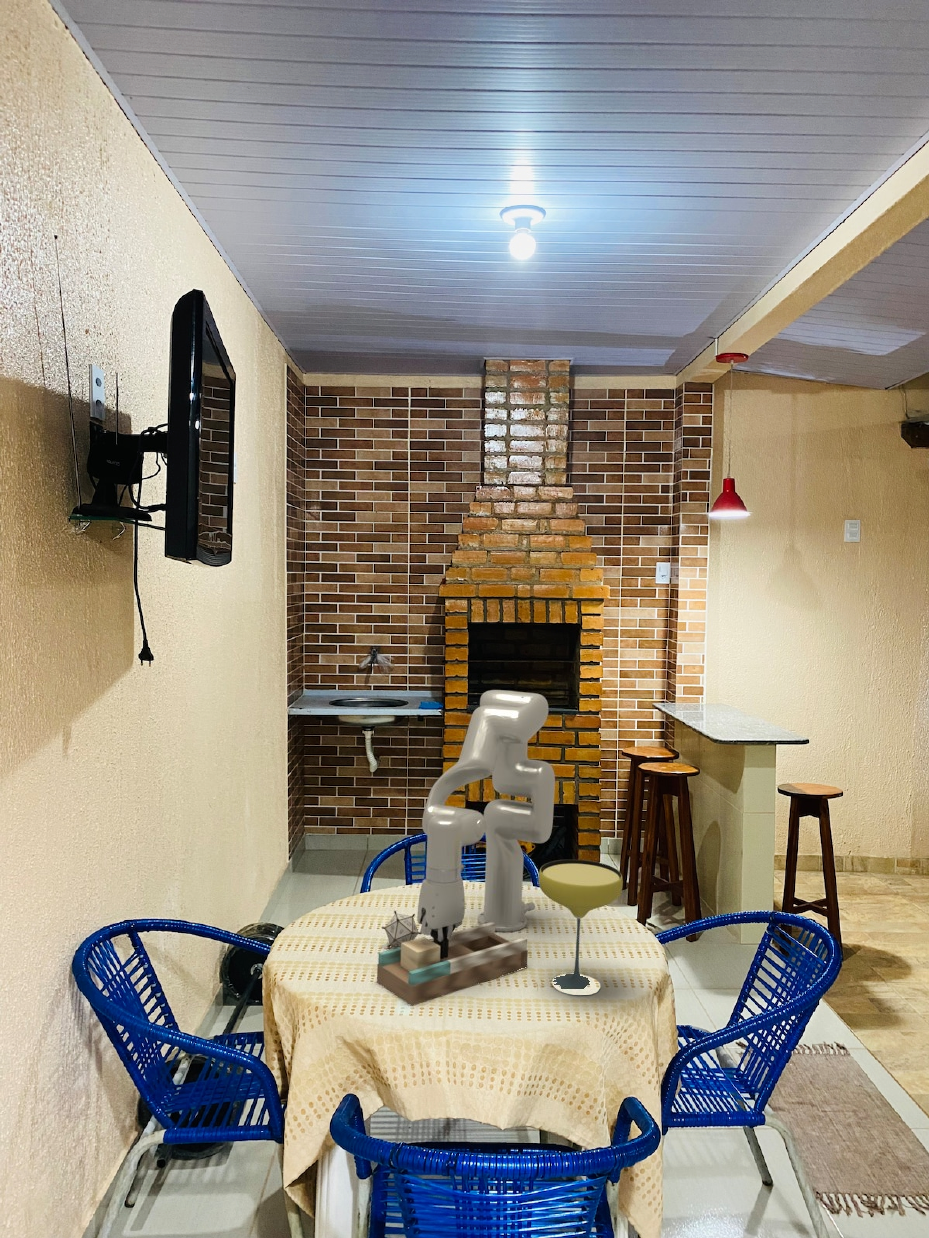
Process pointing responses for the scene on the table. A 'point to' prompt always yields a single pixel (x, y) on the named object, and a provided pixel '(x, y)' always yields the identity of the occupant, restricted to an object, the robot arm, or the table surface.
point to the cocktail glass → (579, 897)
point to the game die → (401, 929)
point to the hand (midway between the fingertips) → (440, 955)
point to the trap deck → (454, 965)
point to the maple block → (419, 954)
